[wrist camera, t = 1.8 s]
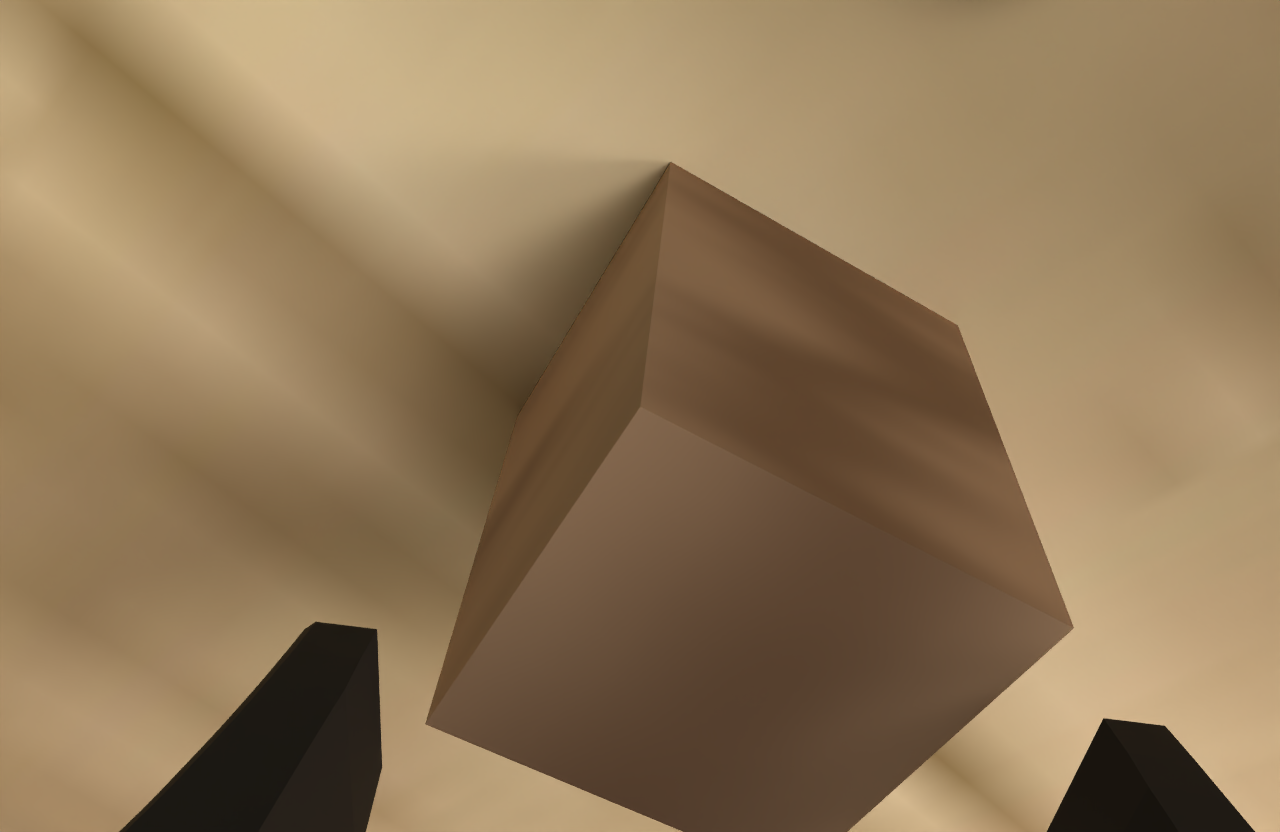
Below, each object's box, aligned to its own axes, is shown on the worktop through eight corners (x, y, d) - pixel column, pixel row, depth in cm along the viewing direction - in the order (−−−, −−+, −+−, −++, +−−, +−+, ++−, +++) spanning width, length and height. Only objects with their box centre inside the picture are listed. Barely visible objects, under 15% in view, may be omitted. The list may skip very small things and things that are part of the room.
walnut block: (957, 324, 16) (1074, 628, 11) (774, 542, 19) (795, 878, 13) (671, 161, 15) (640, 407, 10) (517, 414, 18) (424, 724, 12)
